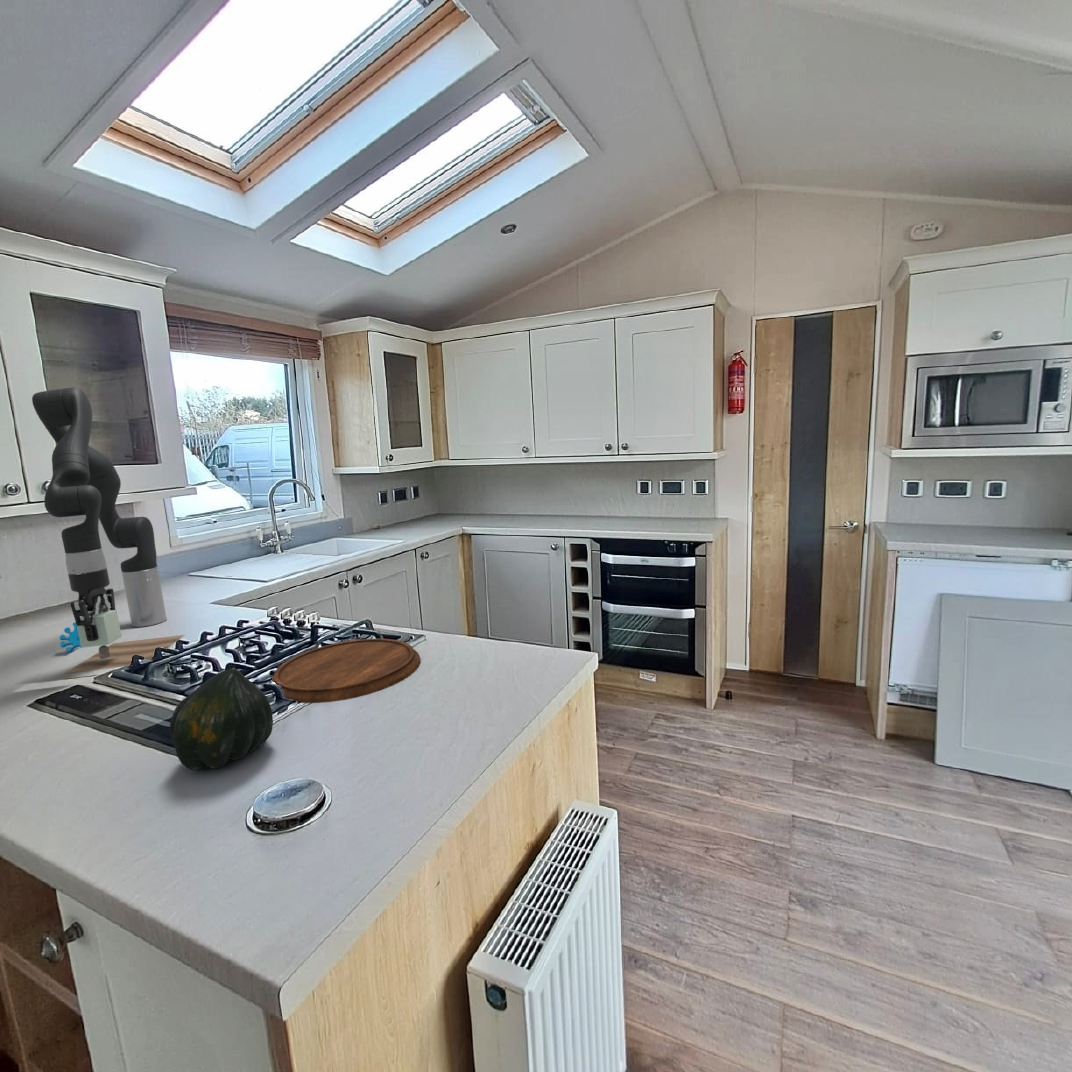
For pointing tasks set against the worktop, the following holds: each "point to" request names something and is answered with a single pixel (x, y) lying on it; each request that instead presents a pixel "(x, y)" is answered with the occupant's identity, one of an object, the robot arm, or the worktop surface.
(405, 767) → the worktop surface
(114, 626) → the pale green block
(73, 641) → the gear
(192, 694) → the squash
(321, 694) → the cutting board
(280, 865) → the worktop surface
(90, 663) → the board
